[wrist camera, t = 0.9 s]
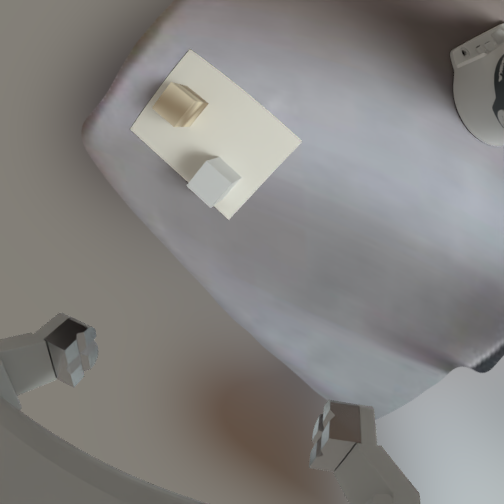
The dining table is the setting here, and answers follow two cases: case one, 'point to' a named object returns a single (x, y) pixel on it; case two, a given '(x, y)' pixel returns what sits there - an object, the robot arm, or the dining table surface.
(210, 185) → the grey block
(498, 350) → the dining table surface
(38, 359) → the robot arm
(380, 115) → the dining table surface
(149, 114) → the cream flat sheet
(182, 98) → the birch block
